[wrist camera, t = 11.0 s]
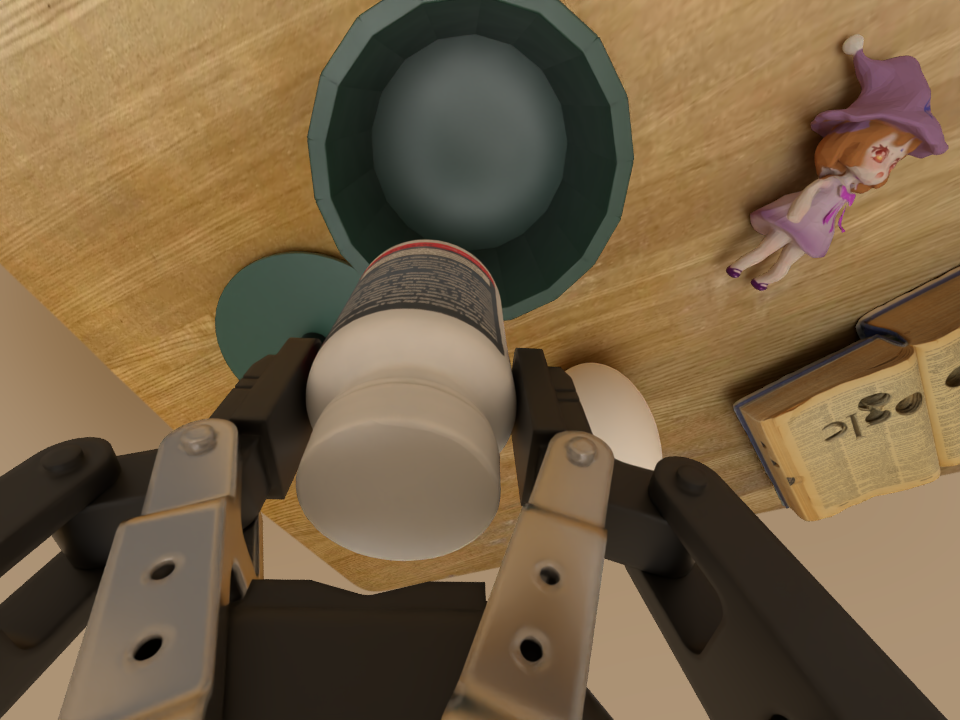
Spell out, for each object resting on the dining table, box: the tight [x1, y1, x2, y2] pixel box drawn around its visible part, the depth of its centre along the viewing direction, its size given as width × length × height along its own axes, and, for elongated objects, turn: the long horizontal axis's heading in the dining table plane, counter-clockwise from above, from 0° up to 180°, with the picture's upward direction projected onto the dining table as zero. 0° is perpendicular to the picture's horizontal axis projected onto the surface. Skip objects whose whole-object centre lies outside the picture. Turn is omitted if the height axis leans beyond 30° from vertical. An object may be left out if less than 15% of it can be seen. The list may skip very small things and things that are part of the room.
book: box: [733, 267, 960, 521], centre depth 38 cm, size 25×17×6 cm
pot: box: [307, 0, 634, 321], centre depth 25 cm, size 15×15×12 cm
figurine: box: [726, 34, 948, 291], centre depth 30 cm, size 9×8×15 cm
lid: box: [215, 251, 362, 380], centre depth 34 cm, size 16×16×6 cm
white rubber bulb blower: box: [565, 363, 662, 471], centre depth 32 cm, size 8×8×18 cm
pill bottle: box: [296, 240, 517, 561], centre depth 12 cm, size 5×5×9 cm
